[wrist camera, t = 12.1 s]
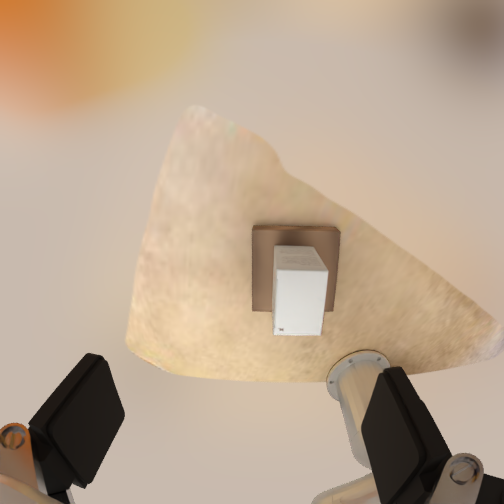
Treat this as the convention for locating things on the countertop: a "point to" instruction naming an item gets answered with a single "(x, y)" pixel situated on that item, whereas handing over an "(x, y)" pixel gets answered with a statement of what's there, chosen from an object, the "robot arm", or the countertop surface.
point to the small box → (298, 291)
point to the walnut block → (269, 236)
